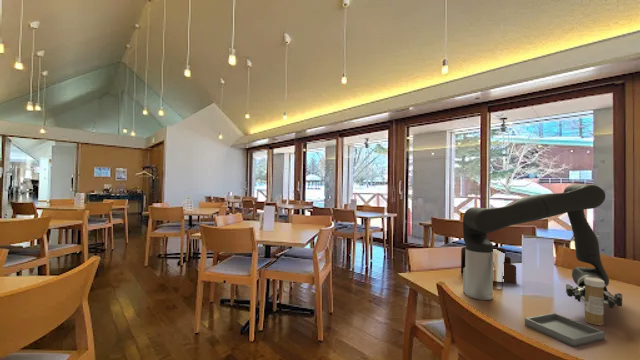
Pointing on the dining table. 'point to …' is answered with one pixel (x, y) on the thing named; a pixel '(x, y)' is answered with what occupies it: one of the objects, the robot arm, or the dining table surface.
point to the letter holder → (508, 267)
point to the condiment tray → (565, 329)
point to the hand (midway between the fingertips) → (594, 301)
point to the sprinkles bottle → (594, 300)
